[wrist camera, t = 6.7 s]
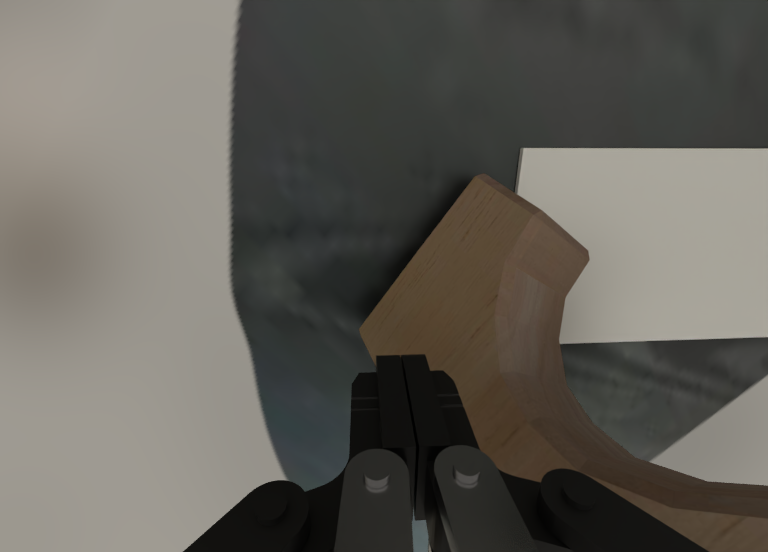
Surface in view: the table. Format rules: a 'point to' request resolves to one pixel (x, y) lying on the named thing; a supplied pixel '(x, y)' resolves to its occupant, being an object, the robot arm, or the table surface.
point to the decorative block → (534, 362)
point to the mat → (658, 239)
